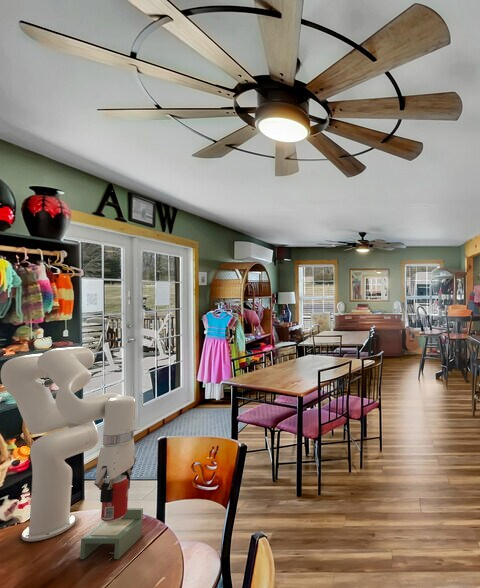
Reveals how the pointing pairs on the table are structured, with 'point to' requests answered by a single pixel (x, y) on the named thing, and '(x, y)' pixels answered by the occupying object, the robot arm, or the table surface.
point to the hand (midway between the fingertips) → (115, 494)
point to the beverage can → (116, 500)
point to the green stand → (114, 534)
